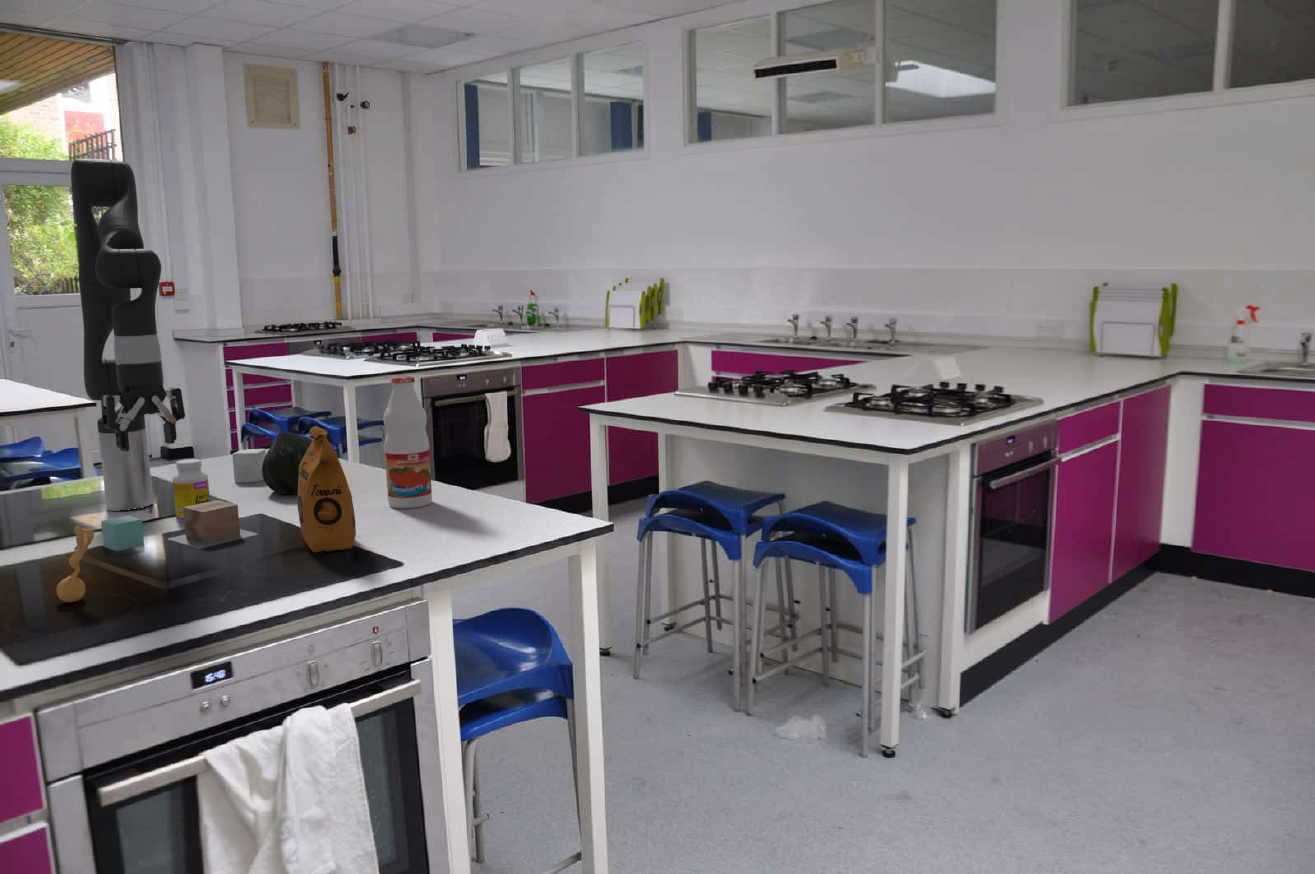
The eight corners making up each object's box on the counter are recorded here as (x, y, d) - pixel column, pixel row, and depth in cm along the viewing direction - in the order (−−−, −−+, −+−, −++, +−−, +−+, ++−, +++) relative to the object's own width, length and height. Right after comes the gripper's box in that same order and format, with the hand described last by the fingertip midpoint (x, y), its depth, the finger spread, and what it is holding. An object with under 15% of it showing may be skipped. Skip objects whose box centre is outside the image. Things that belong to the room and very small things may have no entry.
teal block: (104, 552, 188) (101, 521, 187) (131, 546, 192) (128, 515, 191) (117, 556, 185) (113, 524, 184) (144, 550, 189) (141, 519, 188)
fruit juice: (428, 497, 227) (420, 373, 223) (436, 506, 219) (428, 377, 214) (385, 502, 224) (377, 376, 219) (391, 511, 215) (383, 380, 210)
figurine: (57, 596, 163) (49, 524, 161) (100, 590, 166) (92, 519, 164) (58, 611, 156) (48, 536, 153) (102, 604, 159) (94, 530, 156)
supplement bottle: (198, 526, 205) (192, 464, 203) (169, 525, 207) (163, 463, 204) (218, 518, 212) (213, 458, 210) (190, 517, 213) (184, 457, 211)
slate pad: (167, 543, 193) (166, 538, 192) (226, 530, 202) (225, 525, 202) (200, 553, 186) (199, 548, 185) (259, 539, 195) (259, 534, 195)
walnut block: (186, 537, 193) (183, 507, 192) (220, 529, 198) (217, 500, 197) (205, 543, 189) (202, 512, 188) (240, 535, 194) (237, 504, 193)
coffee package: (302, 557, 183) (292, 437, 179) (300, 539, 194) (291, 426, 190) (359, 550, 186) (350, 432, 182) (354, 534, 197) (346, 423, 194)
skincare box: (258, 482, 246) (256, 453, 245) (234, 483, 247) (231, 453, 245) (268, 477, 252) (266, 448, 251) (244, 477, 252) (241, 448, 251)
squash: (350, 466, 236) (316, 416, 239) (297, 481, 224) (262, 428, 227) (324, 500, 244) (292, 451, 247) (271, 516, 231) (238, 464, 234)
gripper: (165, 355, 193) (173, 439, 195) (88, 362, 181) (98, 451, 184) (186, 357, 188) (195, 443, 191) (109, 364, 177) (119, 455, 180)
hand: (147, 447), depth 188 cm, fingers open, 8 cm apart
